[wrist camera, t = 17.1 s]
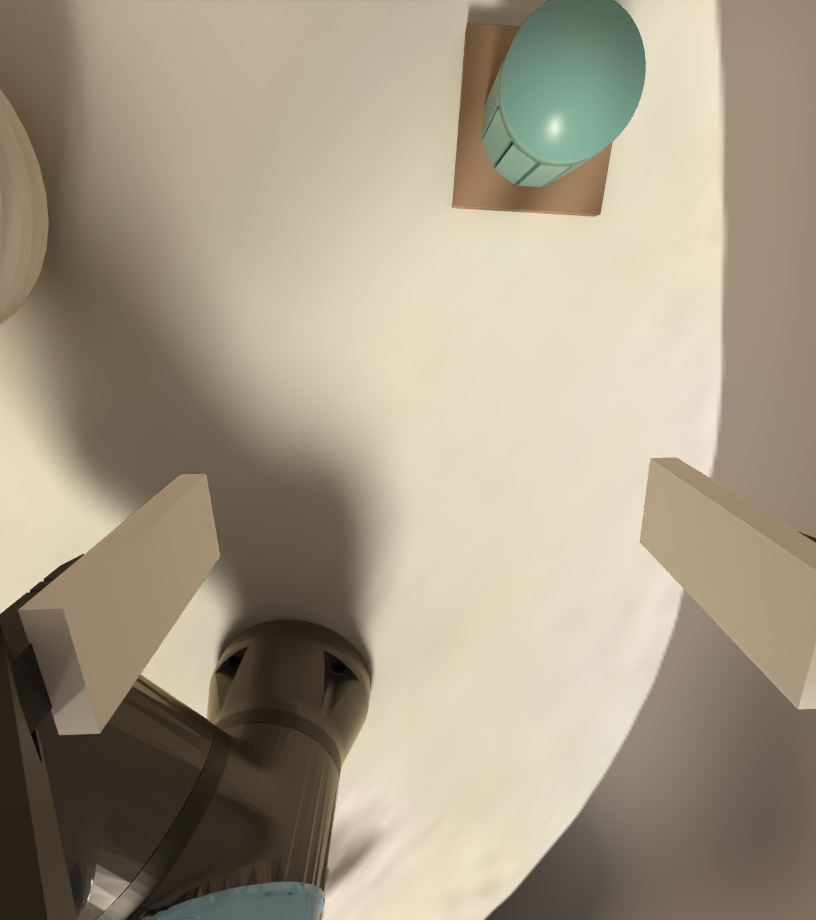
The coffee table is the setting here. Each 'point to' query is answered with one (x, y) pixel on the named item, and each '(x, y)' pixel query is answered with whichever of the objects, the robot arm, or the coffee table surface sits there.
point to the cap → (563, 90)
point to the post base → (477, 175)
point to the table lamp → (19, 213)
